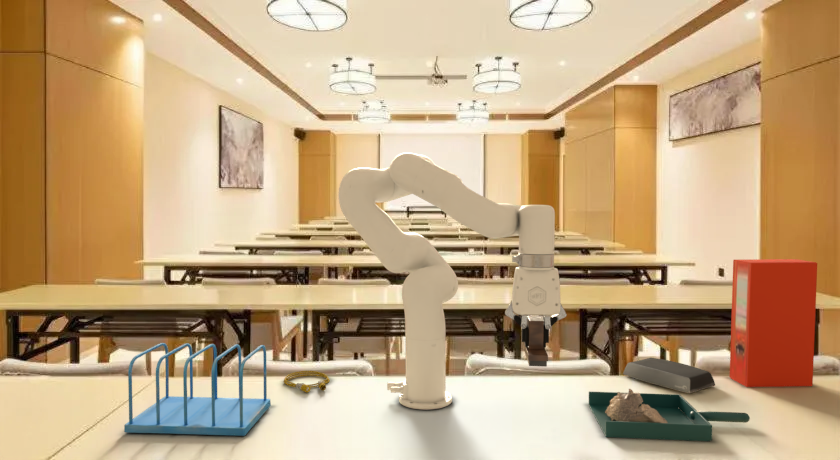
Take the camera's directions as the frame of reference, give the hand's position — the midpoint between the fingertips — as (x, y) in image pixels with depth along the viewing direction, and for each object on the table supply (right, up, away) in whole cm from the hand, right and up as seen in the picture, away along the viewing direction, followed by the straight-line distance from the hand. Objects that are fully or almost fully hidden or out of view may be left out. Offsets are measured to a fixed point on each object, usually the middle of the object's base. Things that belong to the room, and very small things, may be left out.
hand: (534, 345), depth 127 cm
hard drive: (+40, -15, +27) cm, 51 cm away
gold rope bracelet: (-54, -15, +24) cm, 62 cm away
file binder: (+67, -15, +26) cm, 73 cm away
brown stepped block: (0, -3, 0) cm, 3 cm away
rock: (+21, -16, -4) cm, 27 cm away
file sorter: (-72, -16, -1) cm, 74 cm away
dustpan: (+29, -16, -2) cm, 33 cm away
